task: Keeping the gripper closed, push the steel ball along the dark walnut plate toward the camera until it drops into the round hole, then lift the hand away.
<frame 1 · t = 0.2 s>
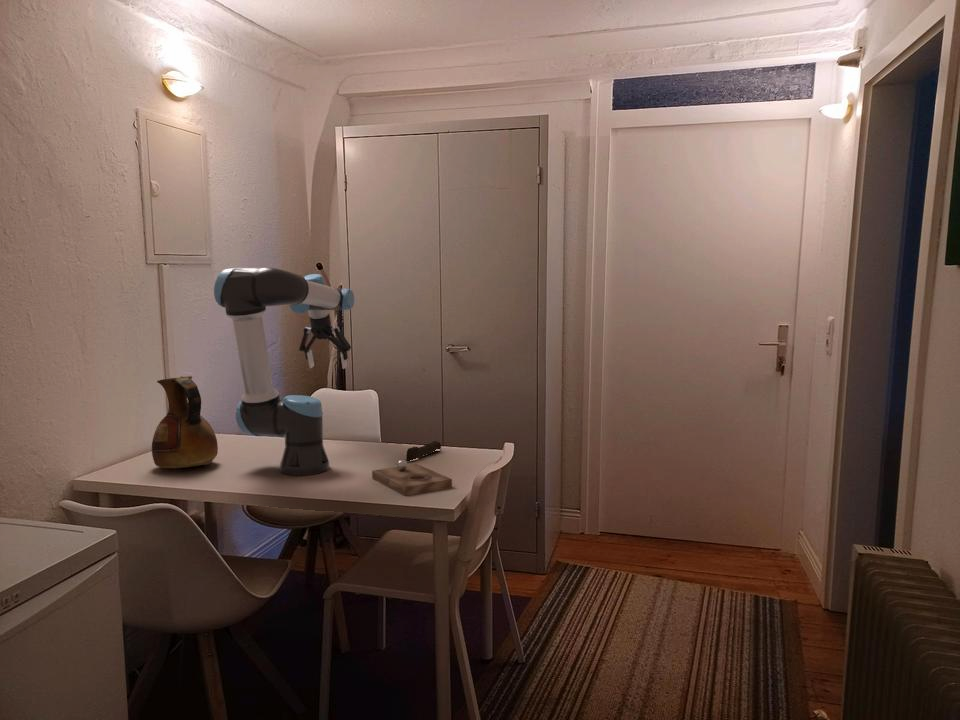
hand: (328, 367, 269), 28 cm above the table, tool tilted 20°, fingers open, 13 cm apart
ceramic pitcher: (186, 467, 226), on the table
hand tool: (423, 458, 238), on the table
walnut plate: (411, 482, 205), on the table
steel ball: (401, 465, 209), point 4 cm above the table, touching walnut plate
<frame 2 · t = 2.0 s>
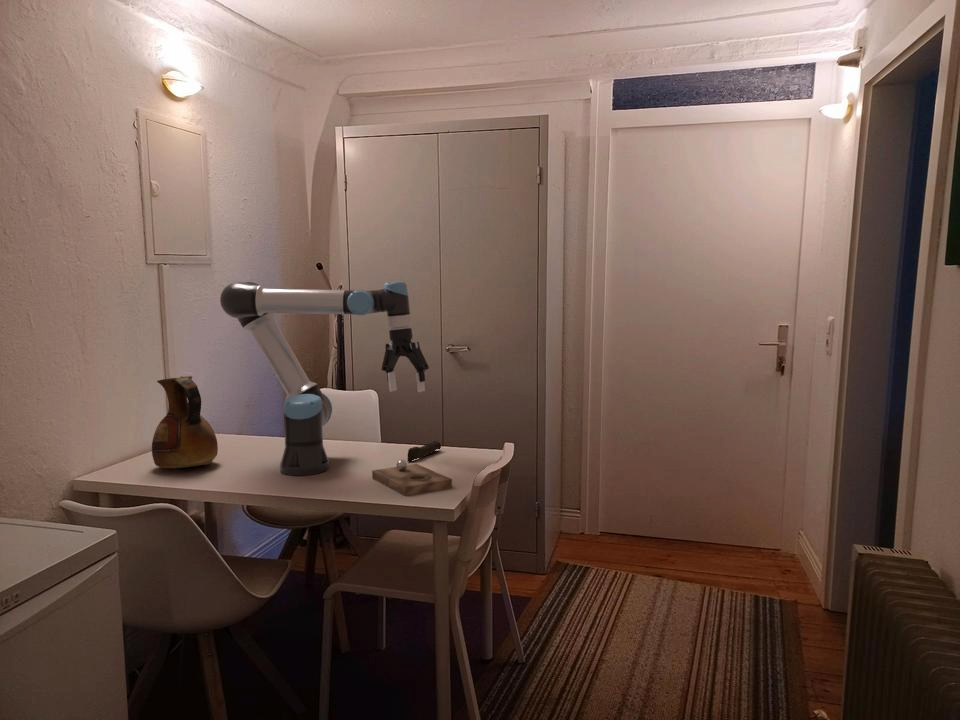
hand: (407, 391, 233), 23 cm above the table, tool pointing down, fingers open, 13 cm apart
nothing on the table moved.
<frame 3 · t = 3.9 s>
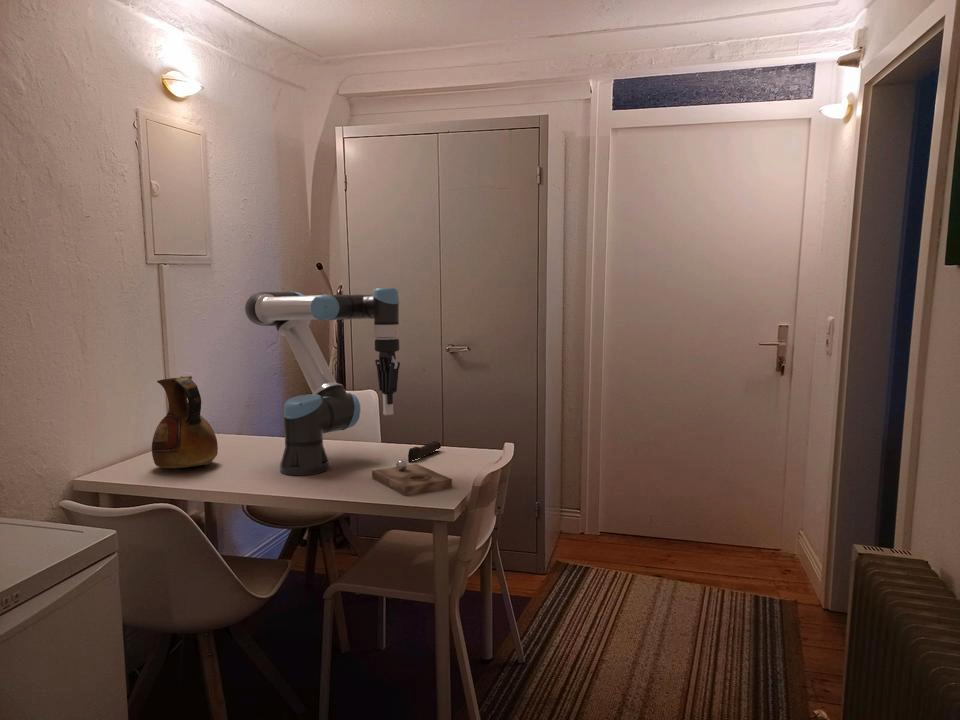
hand: (388, 414, 216), 18 cm above the table, tool pointing down, fingers closed
nothing on the table moved.
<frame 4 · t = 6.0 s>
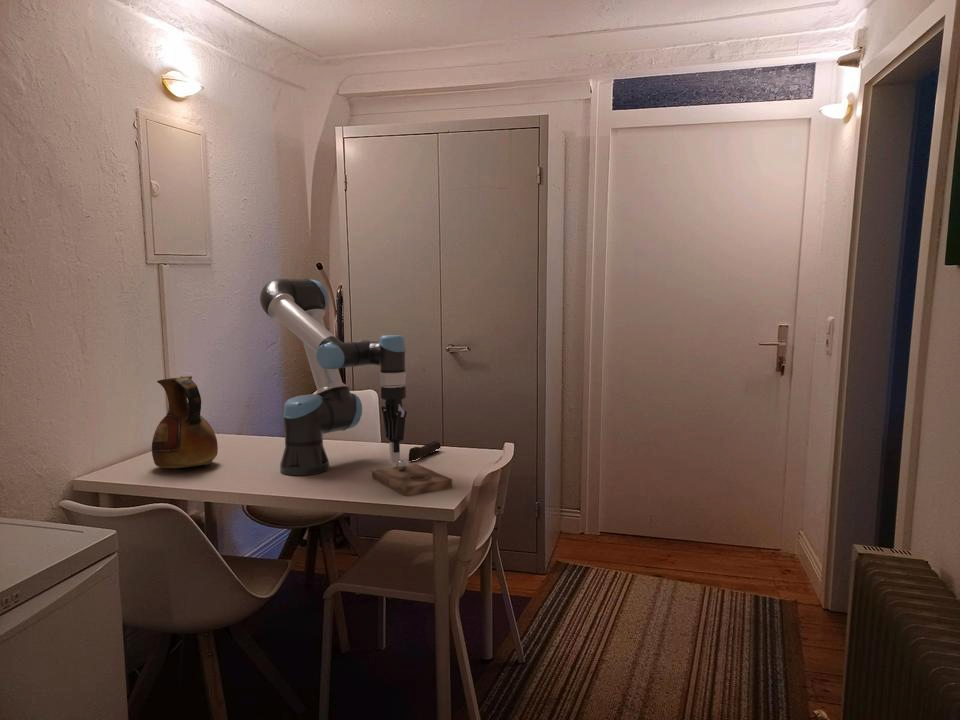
hand: (395, 462, 214), 4 cm above the table, tool pointing down, fingers closed
nothing on the table moved.
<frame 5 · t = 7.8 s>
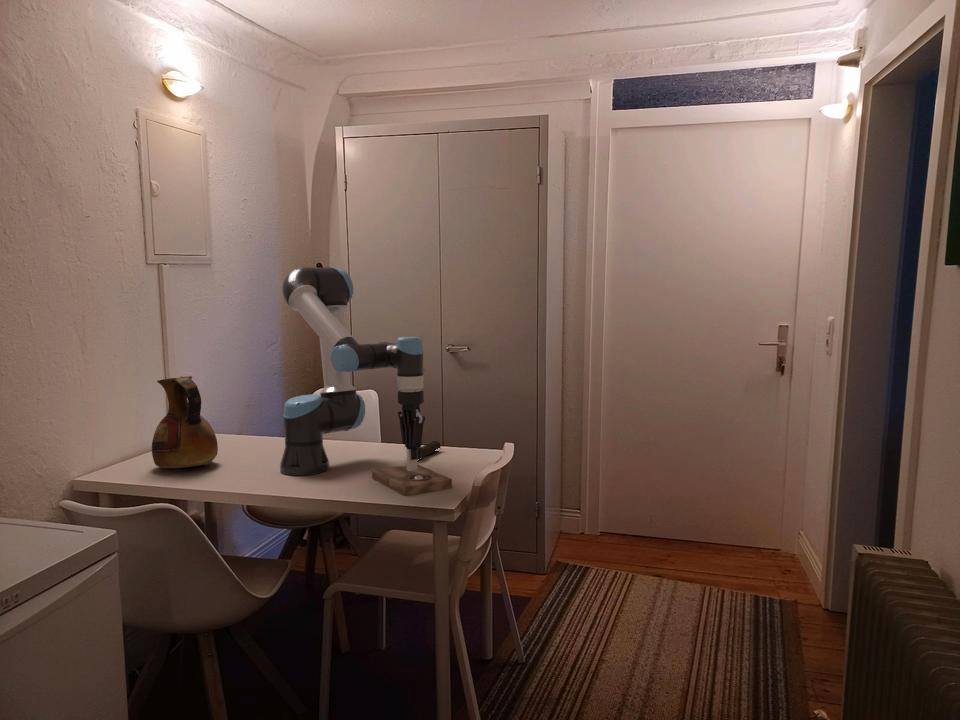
hand: (412, 469, 204), 4 cm above the table, tool pointing down, fingers closed
steel ball: (418, 481, 201), point 2 cm above the table, tilted 60°
everything else where it was.
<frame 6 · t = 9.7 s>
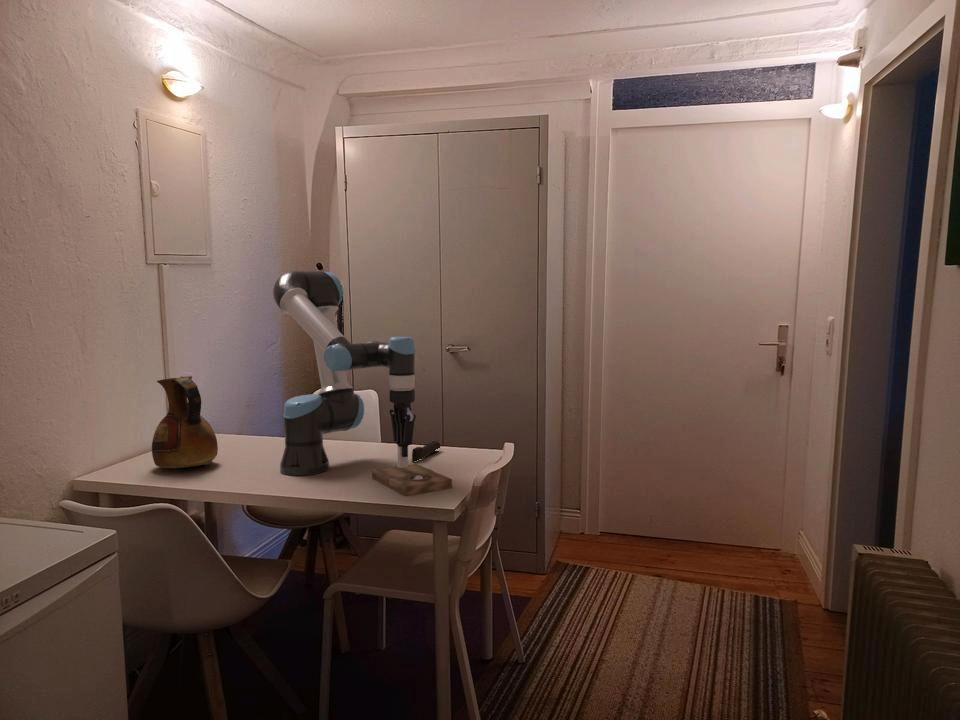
hand: (402, 466, 209), 4 cm above the table, tool pointing down, fingers closed
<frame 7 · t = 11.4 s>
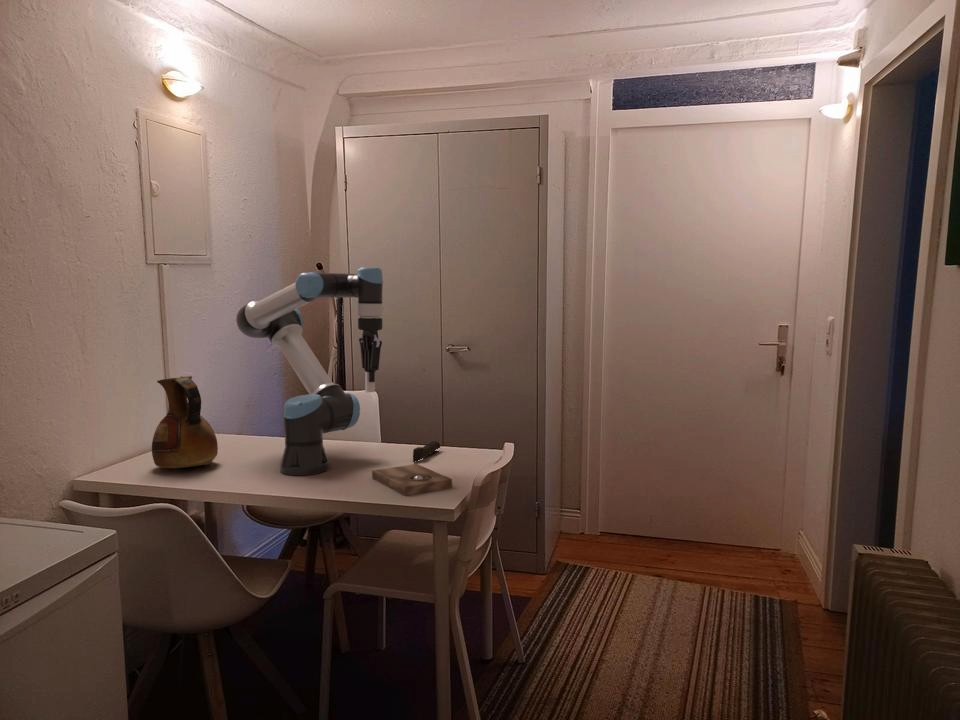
hand: (370, 391, 220), 25 cm above the table, tool pointing down, fingers closed
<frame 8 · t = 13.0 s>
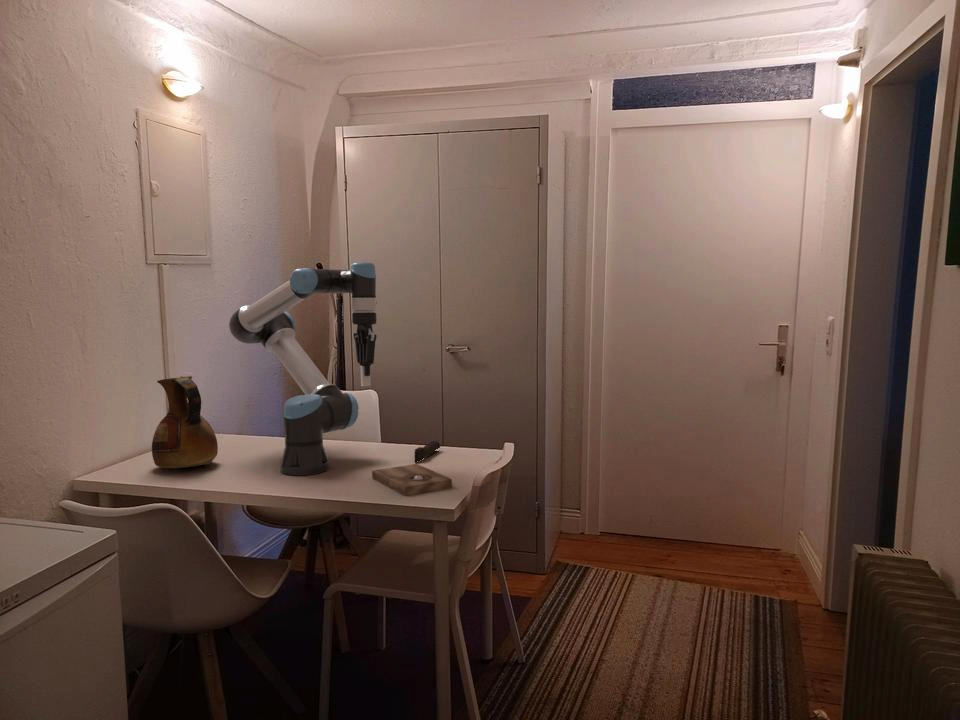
hand: (365, 385, 222), 26 cm above the table, tool pointing down, fingers closed
at the end: steel ball 0.4 cm from the target spot on the walnut plate, point 1.6 cm above the walnut plate's base; the gripper is holding nothing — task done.
